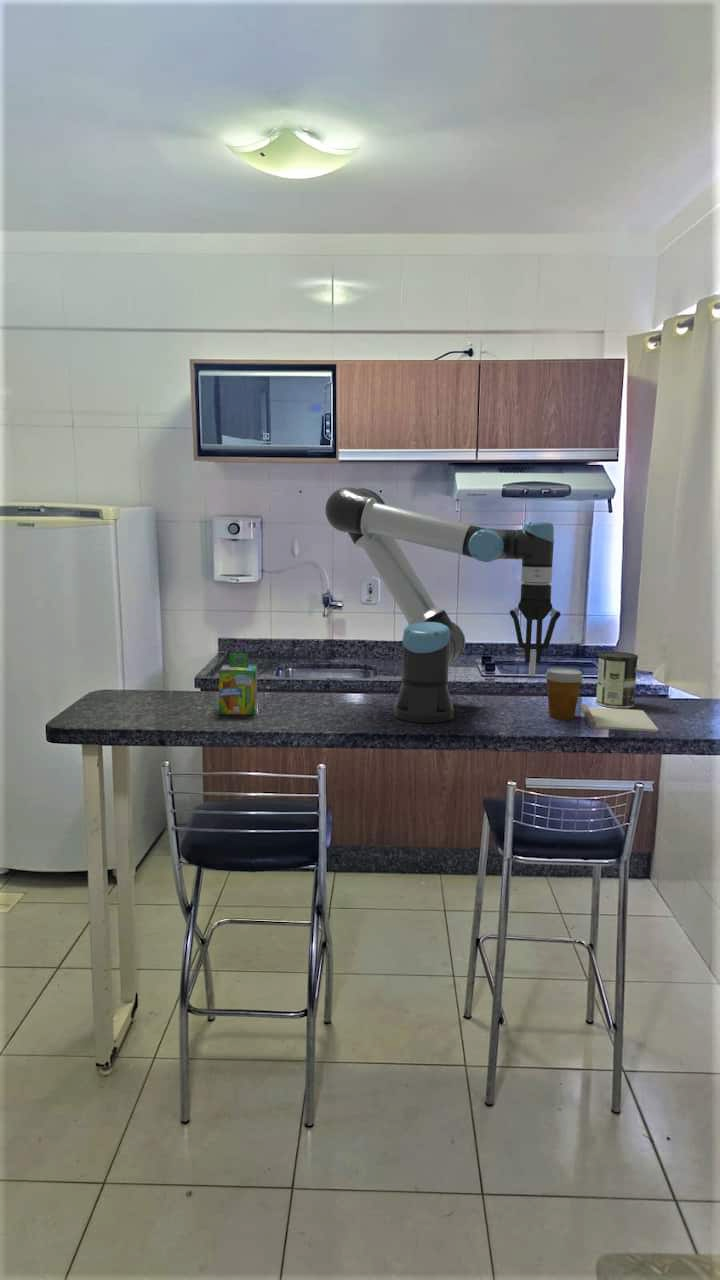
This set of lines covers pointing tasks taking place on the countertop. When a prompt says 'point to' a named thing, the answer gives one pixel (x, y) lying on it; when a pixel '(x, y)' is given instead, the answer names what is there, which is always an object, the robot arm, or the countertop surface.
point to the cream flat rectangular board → (618, 719)
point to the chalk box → (238, 687)
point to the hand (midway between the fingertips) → (531, 674)
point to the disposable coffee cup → (563, 692)
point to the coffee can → (616, 679)
